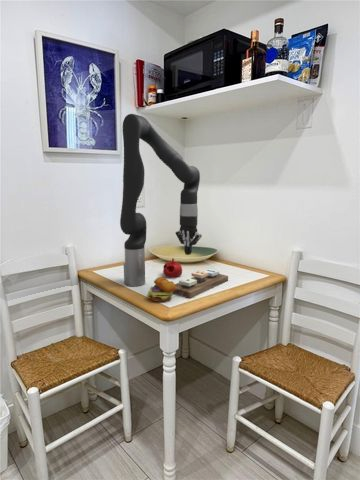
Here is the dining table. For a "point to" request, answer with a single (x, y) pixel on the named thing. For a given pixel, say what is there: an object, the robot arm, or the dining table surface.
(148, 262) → the dining table surface
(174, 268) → the pomegranate
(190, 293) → the key board
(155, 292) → the cheeseburger
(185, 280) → the key one
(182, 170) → the robot arm
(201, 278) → the key two
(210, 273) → the key three
